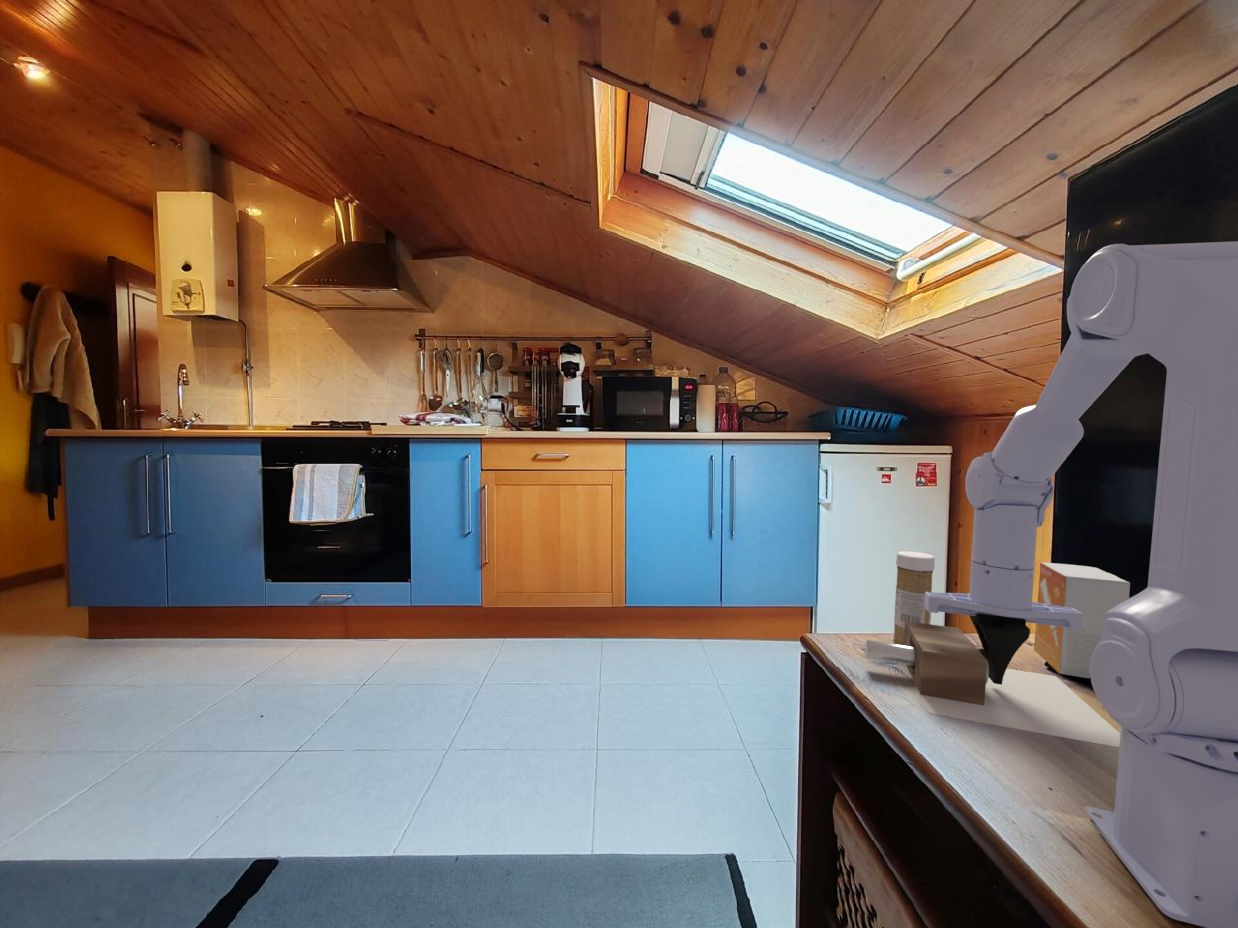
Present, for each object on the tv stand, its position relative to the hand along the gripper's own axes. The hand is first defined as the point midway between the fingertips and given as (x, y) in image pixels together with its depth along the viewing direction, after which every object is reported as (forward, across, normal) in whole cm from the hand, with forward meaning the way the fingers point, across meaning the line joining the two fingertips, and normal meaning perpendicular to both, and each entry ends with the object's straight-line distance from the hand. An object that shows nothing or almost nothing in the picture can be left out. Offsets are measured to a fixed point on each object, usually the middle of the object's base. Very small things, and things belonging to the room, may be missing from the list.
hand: (994, 680), depth 58 cm
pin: (+1, +7, 0) cm, 7 cm away
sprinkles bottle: (+2, +6, -11) cm, 13 cm away
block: (+1, +5, 0) cm, 5 cm away
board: (+2, 0, +1) cm, 2 cm away
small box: (+2, -13, -12) cm, 17 cm away
